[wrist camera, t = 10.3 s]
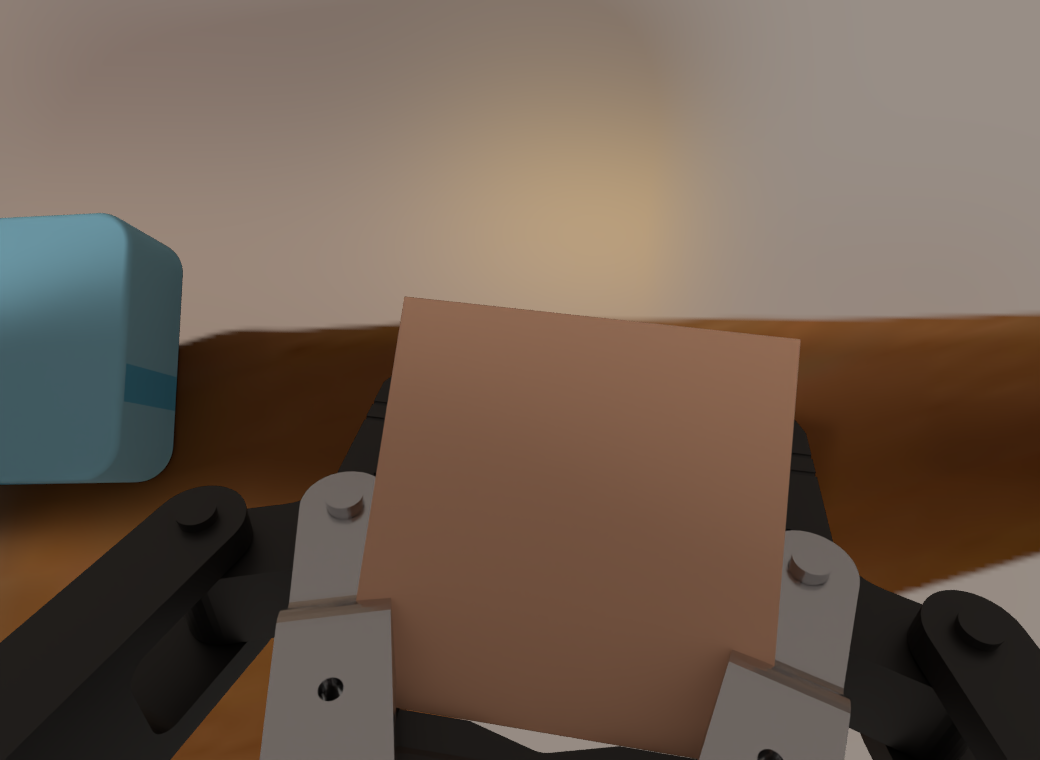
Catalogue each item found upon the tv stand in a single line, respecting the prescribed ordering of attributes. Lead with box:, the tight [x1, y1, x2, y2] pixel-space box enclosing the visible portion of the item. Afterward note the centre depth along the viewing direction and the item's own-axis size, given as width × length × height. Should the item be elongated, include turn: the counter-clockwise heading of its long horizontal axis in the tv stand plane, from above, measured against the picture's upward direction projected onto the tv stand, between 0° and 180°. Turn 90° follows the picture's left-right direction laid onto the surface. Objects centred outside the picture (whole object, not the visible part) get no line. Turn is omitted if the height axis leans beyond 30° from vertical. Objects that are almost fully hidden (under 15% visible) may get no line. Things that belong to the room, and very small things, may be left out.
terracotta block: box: [356, 297, 800, 759], centre depth 13 cm, size 5×5×10 cm
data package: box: [0, 213, 183, 485], centre depth 34 cm, size 12×4×12 cm
